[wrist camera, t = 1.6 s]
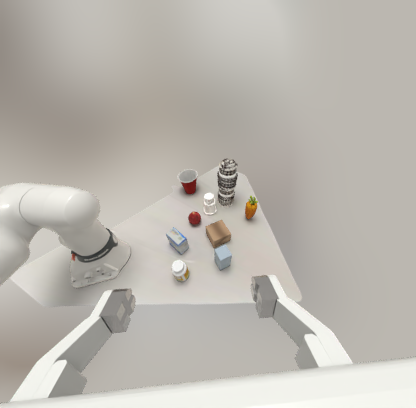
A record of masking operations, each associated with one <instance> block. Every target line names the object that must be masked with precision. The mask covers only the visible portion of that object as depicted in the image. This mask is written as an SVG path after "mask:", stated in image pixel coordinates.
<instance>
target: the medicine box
mask: <svg viewBox="0 0 416 408" xmlns="http://www.w3.org/2000/svg"><path fill="white" fill-rule="evenodd" d="M166 236H167V238H168V240H169V242H170V244H171V245H172V246H173V247H174V248H175V249H176V250H177V251H178V252H179V253H180V254H183V253H184V252H185V251H186V250H187V249H188V248H189V246H188V242H187V239H186V237H184V236H183V235H182V234H181V233H180V232H179V231H177V230H176V229H175V228H174V227H173V228H172V229H171V230H170V231H169V232H168V233H166Z"/></svg>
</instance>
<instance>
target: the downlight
mask: <svg viewBox="0 0 416 408" xmlns="http://www.w3.org/2000/svg"><path fill="white" fill-rule="evenodd" d="M203 210H204V213H205V214H208V215H212V214H214V213H216V211H217V208H216V205H215V199H214V195H213V194H212V193H207V194H205V195H204V209H203Z"/></svg>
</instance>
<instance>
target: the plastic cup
mask: <svg viewBox="0 0 416 408" xmlns="http://www.w3.org/2000/svg"><path fill="white" fill-rule="evenodd" d="M178 180H179V181H180V182H181V183H182V185H183V187H184V189H185V191H186V193H187V194H193V193H195V191H196V180H197V172H196V171H195V170H193V169H186V170H183V171H181V172H180V173H179V175H178Z"/></svg>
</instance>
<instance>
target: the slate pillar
mask: <svg viewBox="0 0 416 408" xmlns="http://www.w3.org/2000/svg"><path fill="white" fill-rule="evenodd" d="M214 251H215V262H216V264H217V266H218V268H219V269H220V270H222V269H224V268H226V267H228V266H229V265H230V262H231V257H232V254H231V253H230V251H229V249H228V248H227V246H226V245H223V246H221V247H219V248H217V249H215V250H214Z"/></svg>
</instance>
